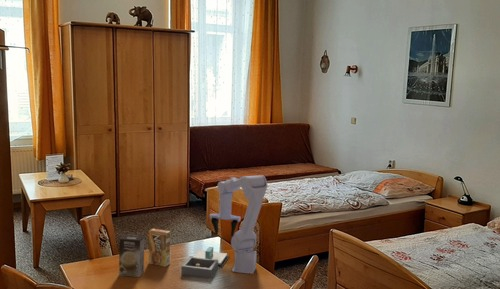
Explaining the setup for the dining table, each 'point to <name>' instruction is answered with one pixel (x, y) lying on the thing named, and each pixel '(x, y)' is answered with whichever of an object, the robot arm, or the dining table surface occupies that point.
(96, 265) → the dining table surface
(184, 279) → the dining table surface
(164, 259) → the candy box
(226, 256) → the mat
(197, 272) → the tub
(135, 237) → the coffee box
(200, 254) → the lid
